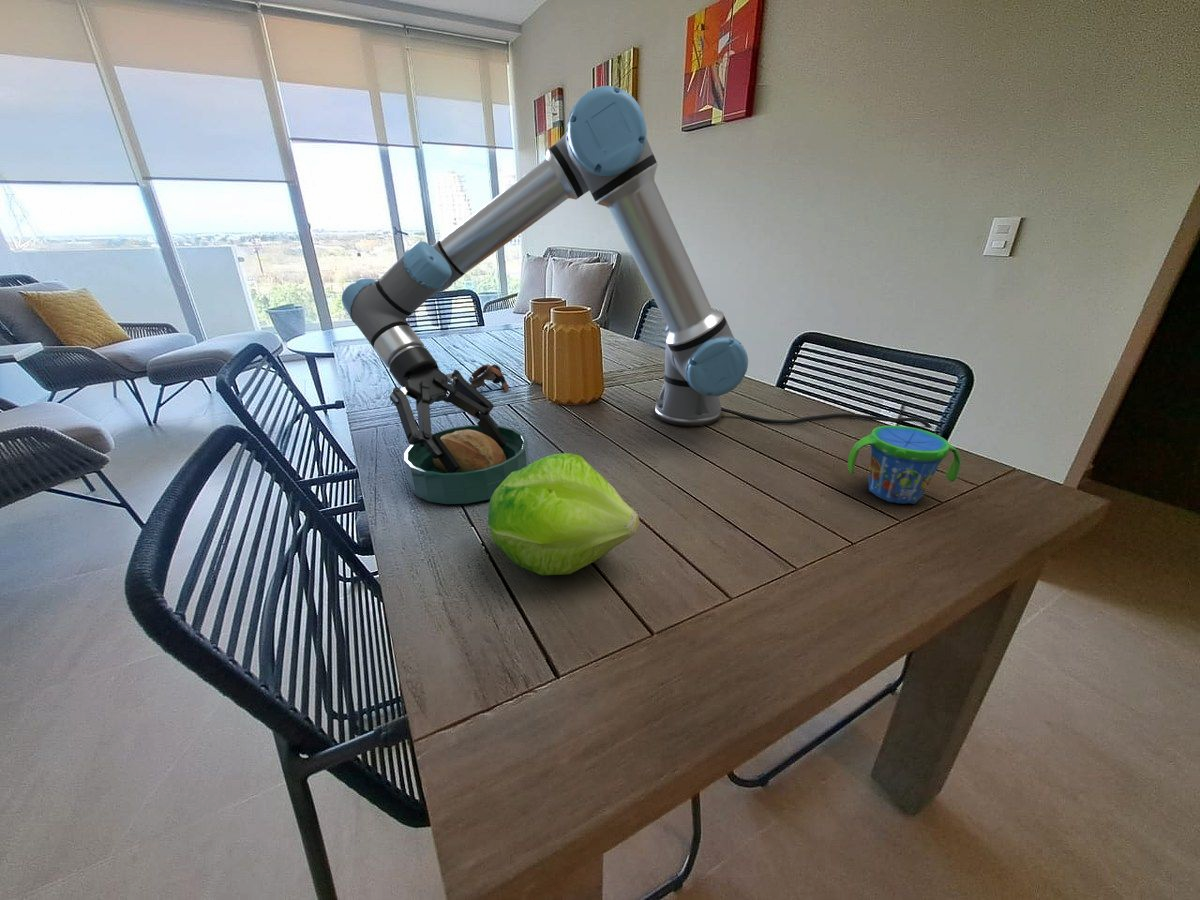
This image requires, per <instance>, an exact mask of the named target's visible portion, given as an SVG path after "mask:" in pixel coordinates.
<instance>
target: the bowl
mask: <svg viewBox="0 0 1200 900" xmlns="http://www.w3.org/2000/svg"><path fill="white" fill-rule="evenodd" d="M497 426H498V429H497V430H498V431H499V433H500V434H501V435H502V437H503V438H504V439H505V441H506V442H507V443H506V444H505V445H504V447H503V448H502V450H503V452H504V454H505V456H506V461H504V462H502V463H501V464H497V465H494V466H491V467H488V468H485V469H480V470H474V471H469V472H461V473H446V472H443V471H441V470H439V469H438V468H437V467H436V466H435V465H434V463H433V457H432V456H431V454H430V453H429V451H428V450H427V449H426V447H425V446H424V447H421V446H419V445H418V443H417V444H415V445H410V444H409V446H408V447H407V449H406V450H405V451H404V455H403V461H404V467H405V470H406V475H407V480H408V485H409V490H411V492H413V493H414V494H415V495H416V497H418V498H420V499H423V500H425V501H427V502H430V503H435V504H436V503H437V504H444V505H458V504H459V505H460V504H461V505H463V504H472V503H477V502H482V501H488V500H491V497H492V495H493V493H494V491H495V490H496V489H497V487H498V486H499V485H500V484H501V483H502V482H503V481H504V480H505V479H506V478H507V477H508V476H509V475H510V474H511V473H512V472H513V471H517V470H521V469H522V468H524V467H526V466H528V465H529V464H530V459H529V458H530V457H529V447H528V440H527V439H526V437H525V435H524V434H523V433H521V432H520V431H518V430H516V429H514V428H511V427H507V426H504V425H497ZM460 430H475V431H478V432H481V433H483V434H484V432H483V431H482V429H481V428H480V427H479V425H478V424H469V425H468V424H467V425H462V426H455V427H450V428H446V429H442V430H438V431H434V432H433V433H432V432H431V433H432V436H431V437H433V436H434V435H438V436H439V438H441V436H443V435H446V434H449V433H453V432H455V431H460Z"/></svg>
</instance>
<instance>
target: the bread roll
mask: <svg viewBox="0 0 1200 900" xmlns="http://www.w3.org/2000/svg"><path fill="white" fill-rule="evenodd" d="M440 439H441V440H442V442H443V443H444V445H445V446H446V447H447V449H448V450H449V451H450V453H451V454H452V456H453V457H454V458H455V460H456V461H457V463H458V464H459V465H460V466H459V468H458V469H457V470H456V471H455V472H454V473H461V472H469V471H474V470H480V469H485V468H488V467H491V466H494V465H497V464H501V463H502V462H504V461H506V456H505V454H504V452H503V450H502V449H501V447H500V446H499V445H498V444H497V443H496V441H495V440H493V439H492V438H491V437H489V436H487V435H485V434H483V433H481V432H478V431H475V430H460V431H455V432H453V433H449V434H446V435H443V436H441V438H440ZM433 463H434V465H435V466H436V467H437V468H438V469H439V470H441V471H443V472H446V473H448V471H447V470H446V468H445V467H444V466H443V464H442V463H441V461H440V460H439V459H438V458H437V459H435V458H433Z"/></svg>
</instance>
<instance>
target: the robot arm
mask: <svg viewBox="0 0 1200 900" xmlns="http://www.w3.org/2000/svg"><path fill="white" fill-rule="evenodd" d="M646 124H647V123H646V119H645V115H644V112H643V111H642V108H641V106H640V104H639V102H638V101H637V100H636V99H635V98H634V96H632V95H631V94H630V93H629V92H628V91H626V90H625V89H622V88H620V87H617V86H615V85H601V86H596V87H594V88H592V89H590V90H588V91H587V92H586V93H583V95H582V96H581V97H580V98H579V99H578V100H577V102H576V103H575V105H574V106H573V107H572V110H571V111H570V113H569V115H568V119H567V124H566V132H565V133H563V136H562V137H561V138H559V140H558V141H556V143H554V144H553V145H552V146H551V147H549V148H548V149H547V150H546V155H545V159H544V160H543V161H541V162H540V163H539V164H538V165H536V166H535V167H534V168H532V169H531V170H529V171H528V172H527V173H525V174H524V175H522V177H520V178H519V179H518V180H516V181H515V182H513V183H512V184H511V185H509V187H507V188H505V189H504V190H503V191H502V192H500V193H499V194H498V195H496V196H495V197H494V198H493V199H492V200H490V201H489V202H488V203H486V204H485V205H483V206H482V207H481V208H480V209H478V210H477V211H476V212H474V213H473V214H471V215H470V216H469V217H468V218H467V219H465V220H464V221H463V222H461V223H460V224H459V225H457V226H456V227H455V228H453V229H452V230H450V231H449V232H448V233H447V234H445V235H444V236H443V237H441V238H440V239H439V240H438V241H436V242H434V243H433V244H432V245H431V244H429V243H427V242H426V241H424V240H419V241H416V242H415V243H414V244H413V245H412V246H411V247H410V248H409V249H406V250H405V251H403V254H402V256H401V257H399V258H398V260H397V261H396V262H395V263H394V264H393V265H392V266H391V267H390V268H389V269H388V270H387V271H386V272H385V273H384V274H383V275H382V276H381V277H380V278H379V279H377V280H375V279H374V278H370V277H363V278H359V279H357V280H356V281H355V282H353V283H349V284H348V285H346V287H345V288H344V290H343V291H342V293H341V294H342V295H341V303H342V306H343V307H344V309H345V311H346V313H348V315H349V317H350V319H351V322H352V323H353V324H354V325H355V326H356V327H357V328H358V329H359V331H360V332H361V333H362V335H363V336H364V337H365V338H366V340H367V341H368V343H369V344H370V345H371V347H372V348H373V350H374V351H375V353H376V354H377V356H378V357H379V358H380V360H381V361H382V362H383V364H384V365H385V367H386V368H387V369H389V373H390V374H391V375H392V377H393V378H394V379H395V381H396V382H397V384H398V385H399V386H400V387H398V386H395V387H394V388H393V390H392V391H391V393H390V395H389V400H390V401H391V402H392V403H393V405H394V406H395V408H396V410H397V414H398V417H399V419H400V422H401V425H402V428H403V431H404V434H405V437H406V440H407V443H408V444H409V446H410V445H415V444H417V443H418V445H419V446H421V447H424V446H425V447H426V449H427V450H428V451H429V453H430V454H431V456H432V457H433V458H435V459H437V458H438V459H439V460H440V461H441V463H442V464H443V466H444V467H445V468H446V470H447V471H448V473H454V472H455V471H456V470H457V469H458V468H459V466H460V465H459V464H458V463H457V461H456V460H455V458H454V457H453V456H452V454H451V453H450V451H449V450H448V449H447V447H446V446H445V445H444V443H443V442H442V440H441V439H440V438H439V436H438V435H434V436H433V437H431V436H432V423H431V409H430V408H431V407H430V406H431V405H433V404H434V403H438V402H442V401H443V402H444V403H446V404H451V405H453V406H455V407H456V408H458V409H460V410H461V411H463V412H465V413H467V414H468V415H470V416H471V417H474V418H475V419H477V420H478V422H477V423H476V425H479V427H480V428H481V429H482V431H483V432H484V434H485V435H487V436H489V437H491V438H492V439H493V440H495V441H496V443H497V444H498V445H499V446H500V447H501V449H502V448H503V447H504V445H505V444H506V443H507V442H506V441H505V439H504V438H503V437H502V435H501V434H500V433H499V431H498V430H497V429H498V426H499V425H498V424H497V423H496V421H495V420H494V418H493V417H492V416H491V415H490V413H491V412H492V410H493V409H494V407H495V405H494V403H492V401H490V400H489V399H488V398H486V396H485V395H483V394H482V393H481V392H480V391H479V390H478V389H475V388H474V387H473V386H472V385H471V383H470V382H469V381H467V380H466V378H464V376H463V375H462V373H461V371H459V370H458V369H454V370H452V372H450V373H447V374H445V373H444V372H442V371H441V370H440V367H439V365H438V362H437V361H436V359H435V358H434V356H433V355H432V354H431V352H430V351H429V349H428V348H427V347H425V344H424V343H423V341H422V340H421V338H420V337H419V336H418V334H417V332H415V330H414V329H413V328H412V327H411V325H410V324H409V322H408V320H407V319H408V318H409V317H410V316H412V315H413V314H414V313H415V312H416V310H418V309H419V308H420V307H421V306H422V305H423V304H424V303H426V302H427V300H429V299H430V298H431V297H433V296H434V295H436V294H438V293H440V292H444V291H446V290H447V289H449V288H451V287H452V285H453V284H454V283H455V282H456V281H458V280H459V279H461V278H462V277H463V276H464V275H465V274H467V273H468V272H470V271H471V270H472V269H474V268H475V267H477V266H478V265H479V264H481V263H482V262H483V261H485V260H486V259H488V258H489V257H490V256H491V255H493V254H494V253H496V252H497V251H499V250H500V249H501V248H503V246H505V245H507V244H508V243H509V242H511V241H512V240H514V239H515V238H516V237H517V236H519V235H520V234H522V233H523V232H525V231H526V230H527V229H529V228H530V227H531V226H533V225H534V224H536V223H537V222H538V221H539V220H541V219H542V218H544V217H545V216H546V215H548V214H549V213H551V212H552V211H553V210H554V209H557V207H558V206H561V204H563V203H565V201H567V200H568V199H571V200H578V199H579V198H581V197H582V196H584V195H585V194H586V193H588V192H590V194H591V196H592V198H593V201H594V202H595V204H597V205H600V206H602V207H606V208H607V209H609V212H610V213H611V216H612V218H613V220H614V222H615V224H616V226H617V228H618V230H619V232H620V234H621V236H622V238H623V240H624V242H625V244H626V246H627V248H628V250H629V252H630V254H631V256H632V258H633V260H634V262H635V265H636V266H637V268H638V271H639V272H640V274H641V276H642V278H643V280H644V282H645V284H646V286H647V288H648V290H649V292H650V294H651V296H652V298H653V300H654V303H655V304H656V306H657V308H658V310H659V312H660V315H661V316H662V318H663V320H664V322H665V324H666V326H665V349H664V350H665V352H664V377H663V379H664V380H663V385H662V387H661V390H660V393H659V396H658V397H655V407H654V408H655V412H654V413H655V416H656V418H657V419H658V420H660V421H661V422H664V423H666V424H670V425H674V426H679V427H702V426H703V427H704V426H708V425H712V424H714V423H717V422H718V421H720V420H721V418H722V412H723V413H726V414H730V415H734V416H737V417H741V418H745V419H748V420H749V419H750V420H753V421H757V422H762V423H769V424H779V425H780V424H783V425H784V424H785V425H787V424H797V423H802V422H807V421H814V420H822V419H831V418H857V419H865V420H872V421H878V422H888V423H900V422H901V423H902V422H916V423H920V424H922V425H923V426H925V427H926V428H929V429H932V428H933V427H932V425H931V424H930V423H929V422H928V421H926V420H924V419H922V418H920V417H896V418H895V417H882V416H875V415H867V414H861V413H846V412H845V413H844V412H841V413H825V414H818V415H811V416H804V417H800V418H792V419H772V418H764V417H759V416H755V415H751V414H746V413H743V412H739V411H735V410H732V409H729V408H725V407H722V405H721V401H720V396H724V395H726V394H728V393H730V392H732V391H734V390H735V389H736V388H737V387H738V386H739V385H740V384H741V382H743V380H744V377H745V375H746V374H747V371H748V367H749V356H748V353H747V351H746V349H745V347H744V345H742V342H740V341H739V340H738V339H736V338H735V337H734V334H733V332H732V330H731V328H730V326H729V324H728V321H727V319H726V317H725V314H724V312H723V311H722V310H718V309H714V308H713V307H712V306H711V303H710V302H709V299H708V297H707V295H706V293H705V291H704V289H703V286H702V284H701V282H700V279H699V277H698V275H697V273H696V270H695V268H694V266H693V264H692V261H691V259H690V257H689V254H688V253H687V251H686V248H685V246H684V244H683V241H682V239H681V237H680V235H679V233H678V231H677V227H676V226H675V224H674V221H673V219H672V217H671V214H670V213H669V211H668V208H667V206H666V203H665V201H664V199H663V197H662V194H661V192H660V190H659V188H658V185H657V183H656V180H655V177H656V172H657V168H658V161H657V159H656V157H655V154H654V151H653V150H652V147H651V145H650V143H649V141H648V138H647V125H646ZM408 397H409V398H412V399H413V400H414V401H415V408H416V411H417V421H416V419H415V415H414V413H413V410H412V407H411V404H410V401H409V399H408ZM417 422H418V423H417Z"/></svg>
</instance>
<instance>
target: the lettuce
mask: <svg viewBox="0 0 1200 900" xmlns="http://www.w3.org/2000/svg"><path fill="white" fill-rule="evenodd" d="M487 525H488V529H489V532H490V535H491V538H492V541H493V542H494V544H495V545H496V546H497V547H498V548H499V549H500V550H501V551H502V552H503V553H504V554H505V555H506V556H507V558H509V560H510V561H512V563H513V564H514V565H516V566H518V567H521V568H523V569H525V570H528V571H531V572H533V573H535V574H538V575H540V576H555V575H556V576H559V575H571V574H573V573H575V572H578V571H579V570H581V569H583V568H585V567H587V566H589V565H591V564H592V563H594V562H596V561H597V560H599V559H600V558H602V557H603V556H605V555H606V554H608V553H609V552H610V551H612V550H613V549H614V548H615V547H617V546H619V545H621V544H622V543H624V542H625V541H627V540H629V539H630V538H632V537H633V536H634V535H635V534H636V533H637V532H638V530H639V528H640V517H639V515H638V514H637V512H636V511H635V509H633V508H632V507H631V506H630V505H629V504H628V503H627V502H626V501H625V500H624V499H623V498H622V497H621V496H620V494H619V493H618V491H617V490H616V489H615V488H614V487H613V486H612V485H611V484H610V482H609V481H608V480H607V479H606V478H605V477H603V476H602V474H601V473H599V472H598V471H597V470H596V469H594V468H593V466H592V465H590V463H588V462H587V461H586V460H585V459H584V457H582V456H581V455H580V454H574V453H569V452H562V453H552V454H550V455H546V456H544V457H541V458H538V459H536V460H534V461H532V462H531V463H529V465H528V466H526V467H524V468H522V469H521V470H517V471H513V472H512V473H511V474H510V475H509V476H508V477H507V478H506V479H505V480H504V481H503V482H502V483H501V484H500V485H499V486H498V487H497V489H496V490H495V491H494V493H493V495H492V497H491V499H489V504H488V518H487Z"/></svg>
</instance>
